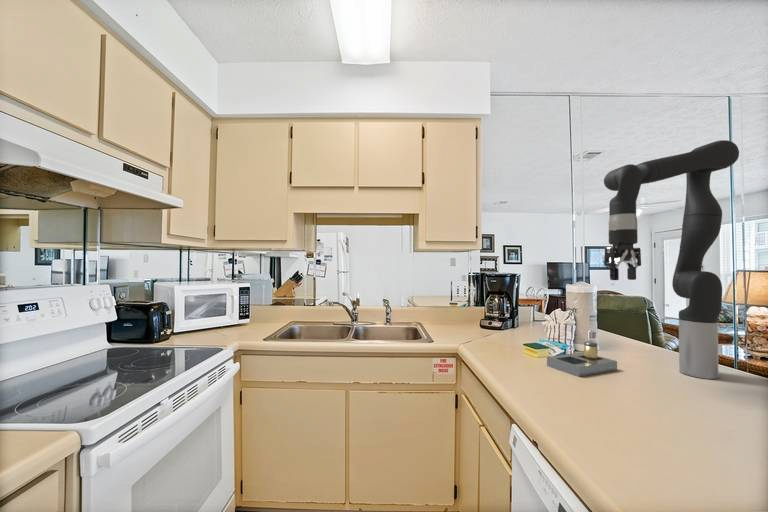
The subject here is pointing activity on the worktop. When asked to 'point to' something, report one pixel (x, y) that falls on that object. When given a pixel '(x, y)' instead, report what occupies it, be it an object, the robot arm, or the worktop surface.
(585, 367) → the grey fitting block
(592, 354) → the gold and grey cylinder
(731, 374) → the worktop surface
